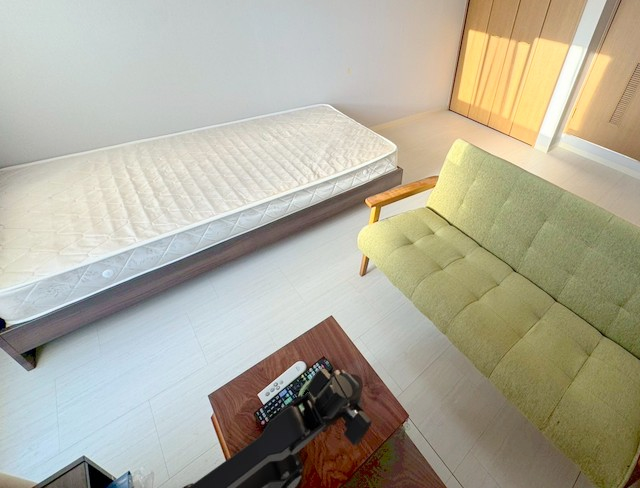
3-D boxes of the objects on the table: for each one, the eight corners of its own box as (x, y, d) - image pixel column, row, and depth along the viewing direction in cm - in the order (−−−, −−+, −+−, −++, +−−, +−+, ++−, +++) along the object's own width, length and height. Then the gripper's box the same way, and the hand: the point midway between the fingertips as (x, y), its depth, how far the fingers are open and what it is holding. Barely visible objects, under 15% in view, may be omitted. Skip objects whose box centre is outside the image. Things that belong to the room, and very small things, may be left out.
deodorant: (355, 423, 85) (358, 402, 76) (335, 416, 85) (336, 395, 77) (362, 399, 90) (365, 377, 81) (343, 393, 90) (344, 371, 81)
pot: (310, 431, 85) (310, 425, 83) (292, 401, 90) (291, 395, 88) (339, 403, 92) (339, 397, 89) (320, 376, 97) (320, 370, 94)
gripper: (368, 416, 67) (394, 394, 80) (315, 356, 75) (346, 346, 89) (341, 461, 66) (371, 431, 80) (289, 396, 74) (325, 379, 88)
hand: (353, 394), depth 84 cm, fingers closed on deodorant, 6 cm apart
